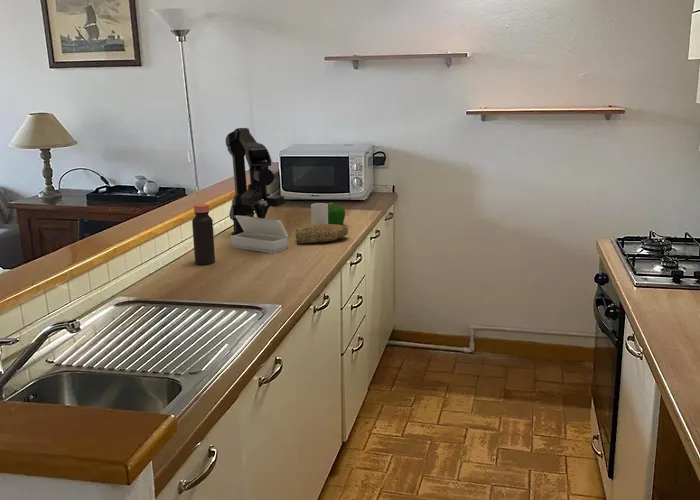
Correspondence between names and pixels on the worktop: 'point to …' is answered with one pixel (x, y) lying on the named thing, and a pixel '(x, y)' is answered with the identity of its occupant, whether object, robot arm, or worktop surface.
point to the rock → (320, 233)
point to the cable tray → (259, 242)
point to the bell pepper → (336, 215)
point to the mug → (319, 213)
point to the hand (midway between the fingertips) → (261, 222)
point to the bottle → (203, 235)
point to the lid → (262, 226)
